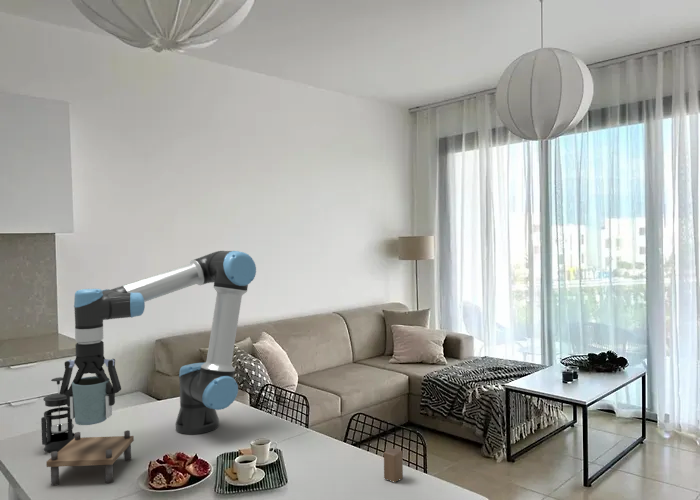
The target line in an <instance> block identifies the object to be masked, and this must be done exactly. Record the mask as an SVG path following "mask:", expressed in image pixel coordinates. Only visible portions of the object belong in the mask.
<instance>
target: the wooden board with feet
mask: <svg viewBox="0 0 700 500" xmlns="http://www.w3.org/2000/svg"><path fill="white" fill-rule="evenodd" d="M123 433H124V434H123V435H119V436H118V435H117V436H115V435H114V436H92V437H91V436H89V437H85V436H84V437H81V432H80V431H77V432H74V434H75V438H74V439H73V440H72V441H70V442H69V443H68V444H67V445H66V446H64V447H63V448H62V449H61V450H60V451H59V452H57V451H54V452H50V458H49V459H48V460H46V465H45V466H46V468H50V483H51V484H50V485H51V486H57V485H59V484H60V469H59V468H61V467H84V466H104V467H105V468H104V469H105V470H104V471H105V474H104V475H105V484H111V483H113V482H114V463H115V462H117V460H118V459H119V458H120V457H121V456H122V454H123V460H124V462H130V461H131V460H132V443H133V442H134V441H135V438H134V435H131V431H130V430H124V431H123Z"/></svg>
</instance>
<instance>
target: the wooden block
mask: <svg viewBox="0 0 700 500" xmlns="http://www.w3.org/2000/svg"><path fill="white" fill-rule="evenodd" d="M403 464H404V463H403V450H400V449H396V448H393V447H392V448H389V449H387V450H385V451H384V452H383V478H385V479H388V480H391V481H394V482H396V481H398V480H399V479H401V480H402V479H403V477H404V475H403V473H404V472H403V470H404V469H403V466H404V465H403ZM385 479H384V480H385ZM399 481H400V480H399ZM399 481H398V482H399ZM396 483H397V482H396Z"/></svg>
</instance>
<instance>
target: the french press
mask: <svg viewBox="0 0 700 500" xmlns="http://www.w3.org/2000/svg"><path fill="white" fill-rule="evenodd" d="M62 380H63V376H62V377H60V376H59V377H54V378H52V379H51V380H50V382H56V385H57V393H54V394H49V395H47V396H44V397H43V402H44V406H45V407H49V408H50V409H48V410H45V411H44V412H43V417H41V421H40V422H41V424H40V425H41V427H40V428H41V444H42V445H44V448H43V450H44V451H45V452H46V453H51V452H54V451H57V452H59V451H60V450H61V449H62V448H63V447H64V446H66V445H67V444H68V443H69V442H70V441H72V440H73V439H74V438H75V432H73V429H74V426H75V425H74V424H73V419H70V407H68V406H67V396H66V395H64V394H62V395H61V394H60V385H61V382H62ZM51 407H53V408H52V409H51ZM66 411H67V412H66ZM61 412H66V413H63V414H61ZM53 413H58V414H55V415H52V414H53ZM66 418H67V423H61V419H66ZM52 420H58V423H57V424H55V425H53V424H52V423H53V421H52Z"/></svg>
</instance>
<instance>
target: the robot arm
mask: <svg viewBox="0 0 700 500" xmlns="http://www.w3.org/2000/svg"><path fill="white" fill-rule="evenodd" d="M256 275H257V265H256V262H255V261H254V259H253V258H252V257H251V255H249V254H248V253H246V252H243V251H240V250H218V251H214V252H211V253H209V254H205V255H203V256H201V257H198V258H195V259H192V260H191V261H190V262H189V263H188V264H185V265H183V266H179V267H176V268H173V269H169V270H167V271H163V272H161V273H157V274H154V275H152V276H149V277H145V278H142V279H140V280H136V281H133V282H130V283H128V284H124V285H121V286H117V287H114V288H112V289H108V288H107V289H106V288H105V289H101V288H83V289H78V290H76V291H75V293H74V305H73V308H74V310H73V311H74V340H75V347H74V348H75V359H68V360H65V362H64V373H63V376H62V377H63V380H62V381H61V384H60V385H61V386H60V388H59V393H60V394H61V395H62V394H64V395H66V396H67V405H66V407H70V419H72V420H75V411H74V399H73V391H72V383H71V378H72V374H73V370H74V367H75V366H76V367H77V368H78V369H77V371H76V373H75V376H74V378H73V380H72V382H74V384H77V385H78V384H79V382H80V380H81V378H83V376H84V375H86V374H90V375H91V374H93V375H94V374H95V376H98V378H99V379H100V381H101V383H103V382H106V381H107V380H108V378H109V379H110V380H109V382H108V383H106V391H107V393H108V394H107V395H106V396H105V397H106V418H107V419H109V418H110V417H111V416H112V415H113V406H114V405H115V403H116V400H115V399H116V396H115V395H116V394H118V393H119V392H121V390H122V386H121V382H120V380H119V376H118V372H117V370H116V359H115V358H112V359H109V358H108V359H107V358H106V357H105V351H104V350H105V347H104V345H105V344H104V341H103V340H104V321H107V320H115V319H126V318H127V319H128V318H134V317H140V316H142V315H143V314H144V312H145V306H146V305H145V303H146V302H148V301H151V300H154V299H157V298H160V297H163V296H166V295H168V294H173V293H174V292H177V291H180V290H183V289H186V288H189V287H191V286H194V285H198V286H203V285H206V284H210V283H211V284H213V288H214V290H215V292H216V297H215V303H214V309H213V310H214V311H213V318H212V324H211V328H210V329H211V330H210V335H209V343H208V347H207V348H208V349H207V356H206V360H205V362H195V363H190V364H189V363H188V364H185V365H182V366H181V367H180V369H179V375H178V378H179V403H180V405H179V406H180V407H179V411H178V413H177V418H176V421H175V431H176V432H177V433H180V434H183V435H198V434H205V433H209V432H212V431H214V430H216V429H217V428H218V427H219V426H220V421H219V420H220V419H219V416H218V413H217V411H219V410H220V411H221V410H224V409H227V408H228V407H230V406H231V404H233V403H234V401H235V400H236V398H237V397H238V393H239V385H238V383H237V381H236V380H235V372H236V369H235V367H234V366H233V364H232V363H233V357H234V350H235V345H236V344H235V343H236V336H237V330H238V324H239V318H240V317H239V316H240V310H241V303H242V298H243V295H245V294H247V292H248V289H249V288H248V286H249V284H251V282H252V281H254V280H255V277H256ZM104 365H105V367H107V371H108V375H109V377H108V376H107V374H106V372H105V369H104V367H103V366H104ZM70 383H71V384H70Z"/></svg>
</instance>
